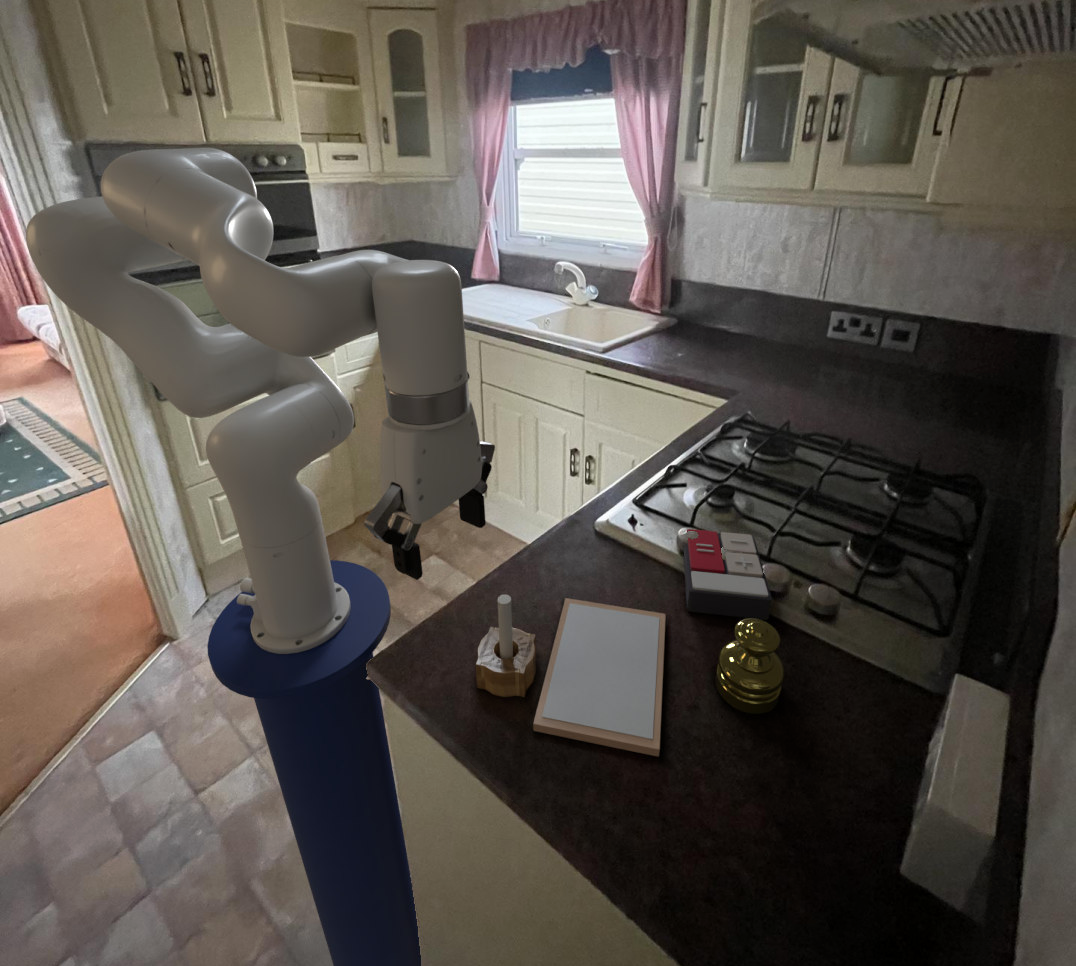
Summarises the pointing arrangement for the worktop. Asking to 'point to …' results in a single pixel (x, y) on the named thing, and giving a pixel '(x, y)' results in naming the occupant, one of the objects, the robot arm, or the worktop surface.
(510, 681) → the holder
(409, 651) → the worktop surface
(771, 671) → the brass weight
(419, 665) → the worktop surface
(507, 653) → the stylus
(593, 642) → the small whiteboard
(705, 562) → the calculator
